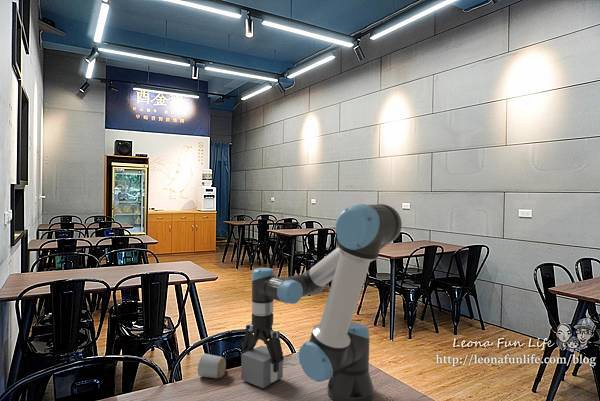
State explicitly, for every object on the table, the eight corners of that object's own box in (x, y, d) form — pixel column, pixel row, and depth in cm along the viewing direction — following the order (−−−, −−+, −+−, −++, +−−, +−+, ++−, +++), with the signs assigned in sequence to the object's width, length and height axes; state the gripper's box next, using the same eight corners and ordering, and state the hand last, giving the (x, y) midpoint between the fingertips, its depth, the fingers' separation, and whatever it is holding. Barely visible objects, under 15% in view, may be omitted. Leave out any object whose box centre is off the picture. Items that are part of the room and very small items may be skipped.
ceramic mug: (219, 382, 137) (219, 360, 137) (197, 380, 139) (197, 358, 139) (230, 369, 148) (230, 349, 148) (209, 367, 149) (209, 347, 149)
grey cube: (282, 377, 140) (282, 352, 140) (263, 388, 132) (263, 361, 132) (261, 369, 146) (261, 345, 146) (241, 379, 138) (241, 354, 138)
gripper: (295, 316, 135) (294, 381, 135) (246, 304, 148) (246, 363, 149) (280, 322, 129) (280, 390, 129) (231, 309, 142) (231, 370, 143)
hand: (261, 376), depth 139 cm, fingers closed on grey cube, 10 cm apart
